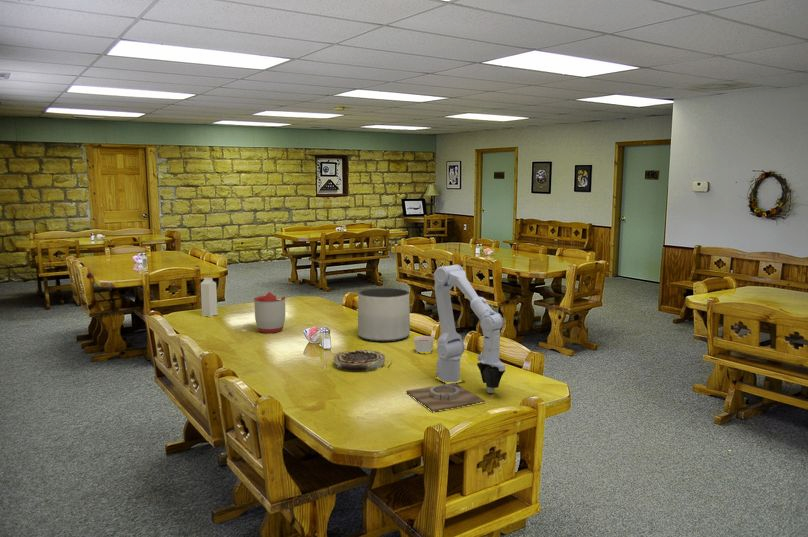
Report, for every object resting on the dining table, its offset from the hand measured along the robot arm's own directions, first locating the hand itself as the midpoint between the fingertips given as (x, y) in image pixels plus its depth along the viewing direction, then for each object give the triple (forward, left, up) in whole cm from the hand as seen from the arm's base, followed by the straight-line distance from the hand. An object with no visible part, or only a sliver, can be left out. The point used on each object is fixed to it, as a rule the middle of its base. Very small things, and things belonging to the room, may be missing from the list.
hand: (490, 385), depth 211 cm
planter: (-90, -2, -3) cm, 90 cm away
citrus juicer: (-125, -49, -3) cm, 134 cm away
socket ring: (-3, -17, -3) cm, 18 cm away
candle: (-57, +3, -3) cm, 57 cm away
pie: (-52, -30, -4) cm, 60 cm away
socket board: (-3, -17, -3) cm, 18 cm away
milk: (-173, -73, -3) cm, 188 cm away
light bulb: (0, 0, -3) cm, 3 cm away
